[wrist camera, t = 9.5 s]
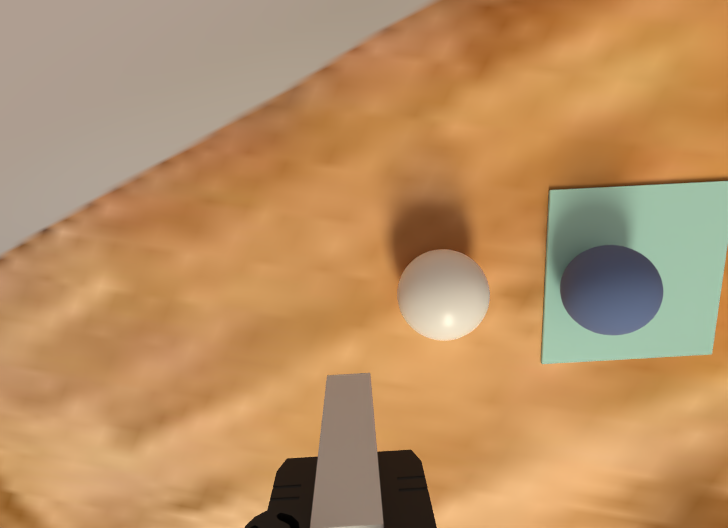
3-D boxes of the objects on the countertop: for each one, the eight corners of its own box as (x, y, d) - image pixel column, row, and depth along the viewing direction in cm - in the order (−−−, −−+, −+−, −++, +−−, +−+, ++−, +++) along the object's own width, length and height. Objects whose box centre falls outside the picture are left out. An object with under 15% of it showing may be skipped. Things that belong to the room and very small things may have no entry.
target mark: (540, 362, 31) (542, 364, 31) (549, 189, 28) (550, 190, 28) (709, 353, 31) (712, 354, 31) (734, 180, 29) (736, 180, 28)
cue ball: (494, 355, 24) (489, 321, 29) (490, 257, 23) (485, 239, 28) (394, 355, 25) (406, 322, 31) (386, 262, 24) (400, 244, 30)
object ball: (596, 355, 25) (681, 343, 26) (604, 259, 23) (693, 250, 24) (540, 321, 30) (612, 313, 31) (544, 241, 29) (619, 234, 30)
